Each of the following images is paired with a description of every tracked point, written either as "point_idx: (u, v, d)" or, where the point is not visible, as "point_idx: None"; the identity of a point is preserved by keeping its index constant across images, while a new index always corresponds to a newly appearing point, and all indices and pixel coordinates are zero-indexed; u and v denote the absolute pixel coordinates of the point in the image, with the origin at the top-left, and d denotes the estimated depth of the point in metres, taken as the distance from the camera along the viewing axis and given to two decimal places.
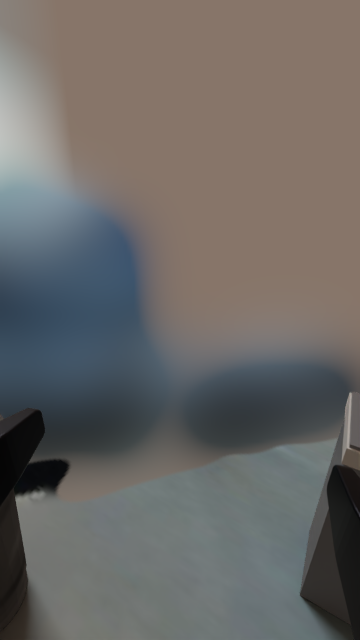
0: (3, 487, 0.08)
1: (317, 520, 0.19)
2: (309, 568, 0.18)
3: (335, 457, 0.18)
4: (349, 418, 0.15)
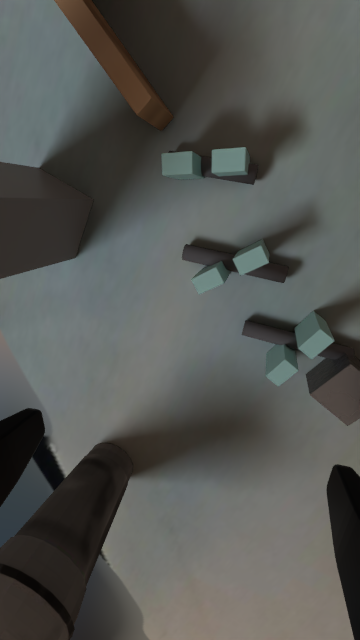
0: (4, 487, 0.08)
1: None
2: (48, 264, 0.19)
3: None
4: None
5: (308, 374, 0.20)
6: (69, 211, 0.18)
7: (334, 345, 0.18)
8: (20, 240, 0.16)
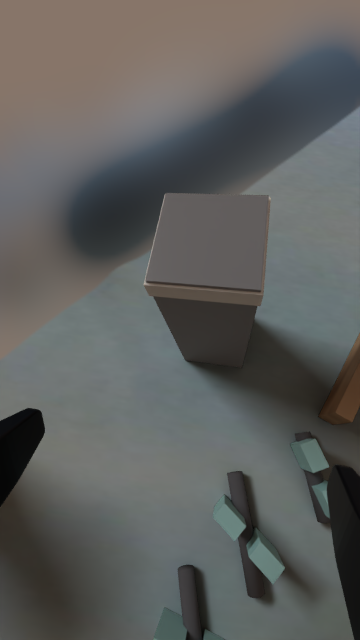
0: (4, 487, 0.08)
1: None
2: (180, 349, 0.21)
3: None
4: None
5: None
6: (232, 359, 0.21)
7: None
8: (208, 341, 0.18)
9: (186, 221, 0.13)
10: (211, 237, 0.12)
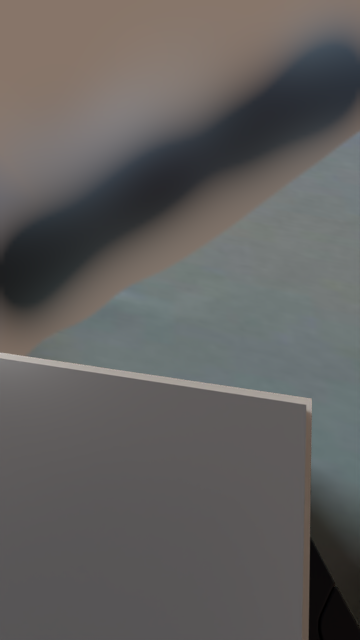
0: None
1: None
2: None
3: None
4: None
5: None
6: None
7: None
8: None
9: None
10: (39, 634, 0.03)
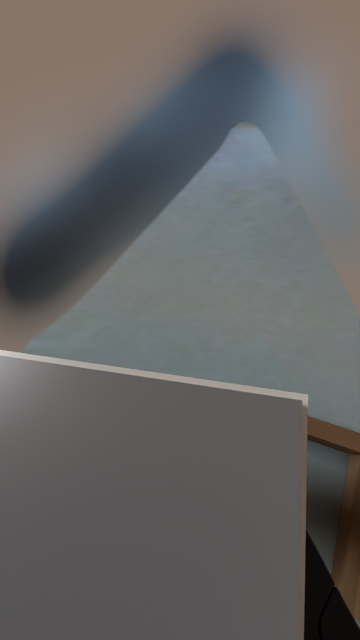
0: None
1: None
2: None
3: None
4: None
5: None
6: None
7: None
8: None
9: None
10: (37, 628, 0.03)
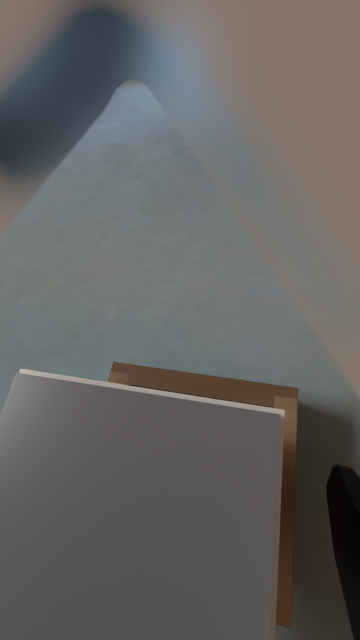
0: None
1: None
2: None
3: None
4: None
5: None
6: None
7: None
8: None
9: (48, 482, 0.04)
10: (107, 562, 0.04)
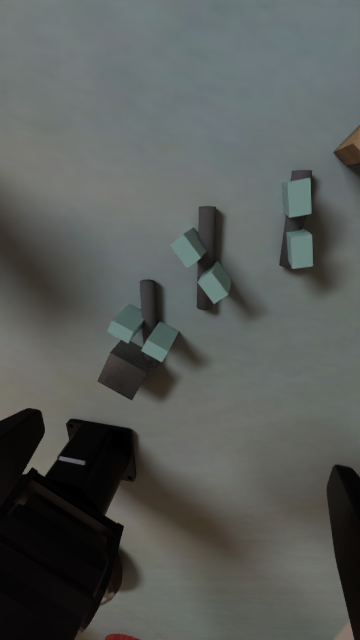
0: (4, 487, 0.08)
1: None
2: None
3: None
4: None
5: None
6: None
7: None
8: None
9: None
10: None
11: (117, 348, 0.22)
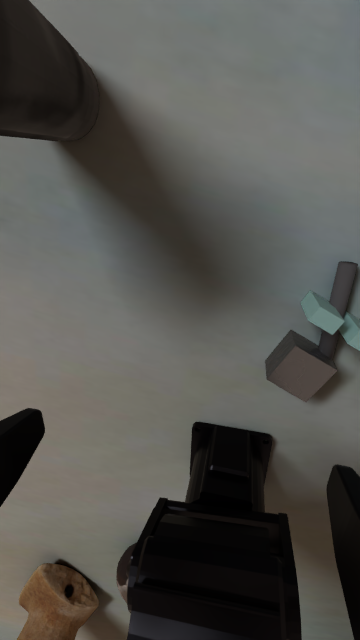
0: (4, 487, 0.08)
1: None
2: None
3: None
4: None
5: (294, 332, 0.20)
6: None
7: (335, 348, 0.19)
8: None
9: None
10: None
11: (296, 341, 0.19)
